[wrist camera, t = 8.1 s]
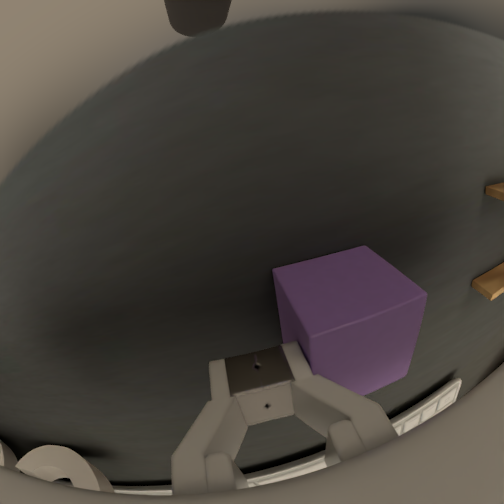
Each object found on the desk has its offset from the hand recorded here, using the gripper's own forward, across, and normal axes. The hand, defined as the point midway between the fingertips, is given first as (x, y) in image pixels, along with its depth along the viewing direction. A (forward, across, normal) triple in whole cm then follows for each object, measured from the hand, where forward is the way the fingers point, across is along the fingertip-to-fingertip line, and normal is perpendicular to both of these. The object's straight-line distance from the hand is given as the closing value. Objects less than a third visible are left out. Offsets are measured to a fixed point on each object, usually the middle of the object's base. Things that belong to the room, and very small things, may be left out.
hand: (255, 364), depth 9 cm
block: (+3, -3, 0) cm, 4 cm away
